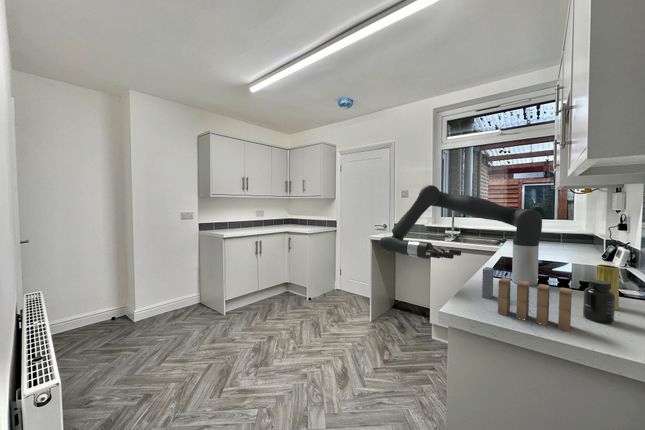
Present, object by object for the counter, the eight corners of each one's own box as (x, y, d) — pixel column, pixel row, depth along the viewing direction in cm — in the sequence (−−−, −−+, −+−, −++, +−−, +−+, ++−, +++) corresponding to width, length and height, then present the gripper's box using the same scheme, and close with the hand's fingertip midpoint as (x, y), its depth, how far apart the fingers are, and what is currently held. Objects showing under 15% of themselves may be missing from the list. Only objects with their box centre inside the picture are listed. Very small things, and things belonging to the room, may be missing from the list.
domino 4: (538, 318, 85) (539, 283, 84) (548, 320, 83) (549, 285, 83) (536, 323, 81) (537, 287, 81) (546, 325, 80) (547, 289, 79)
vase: (621, 311, 89) (623, 269, 88) (595, 307, 93) (597, 266, 92) (616, 305, 94) (618, 265, 93) (591, 302, 98) (593, 263, 97)
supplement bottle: (577, 316, 86) (579, 279, 85) (590, 313, 88) (591, 277, 87) (606, 326, 79) (608, 286, 79) (619, 322, 82) (621, 283, 81)
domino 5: (559, 323, 81) (560, 287, 81) (570, 325, 80) (571, 289, 79) (558, 328, 78) (559, 291, 77) (569, 331, 76) (570, 293, 76)
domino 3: (519, 313, 88) (520, 280, 88) (528, 315, 87) (529, 282, 86) (516, 318, 85) (517, 284, 84) (525, 320, 83) (526, 285, 83)
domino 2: (501, 309, 92) (502, 277, 91) (509, 311, 90) (510, 279, 90) (497, 313, 88) (498, 280, 88) (506, 315, 87) (507, 282, 86)
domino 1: (485, 294, 107) (486, 267, 106) (492, 295, 105) (493, 268, 105) (482, 297, 103) (482, 269, 103) (489, 299, 102) (489, 270, 101)
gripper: (412, 243, 118) (451, 247, 106) (426, 239, 128) (463, 243, 116) (412, 259, 118) (450, 266, 107) (426, 255, 128) (462, 260, 117)
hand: (457, 254), depth 111 cm, fingers open, 8 cm apart
